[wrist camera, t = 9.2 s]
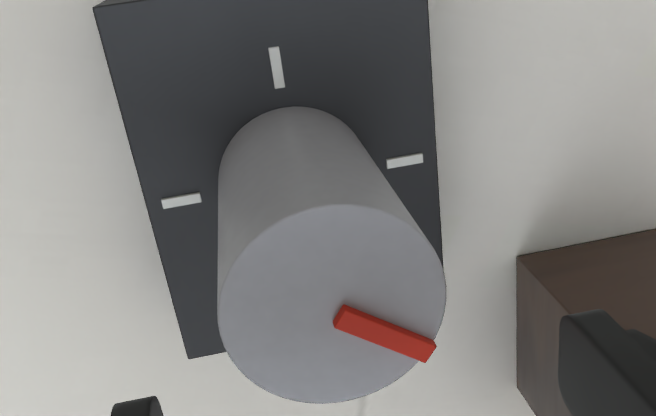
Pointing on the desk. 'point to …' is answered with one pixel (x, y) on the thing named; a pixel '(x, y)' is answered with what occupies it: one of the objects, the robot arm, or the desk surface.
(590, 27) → the desk surface
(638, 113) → the desk surface
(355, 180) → the grey round cylinder
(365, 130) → the dark grey panel
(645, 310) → the stand
